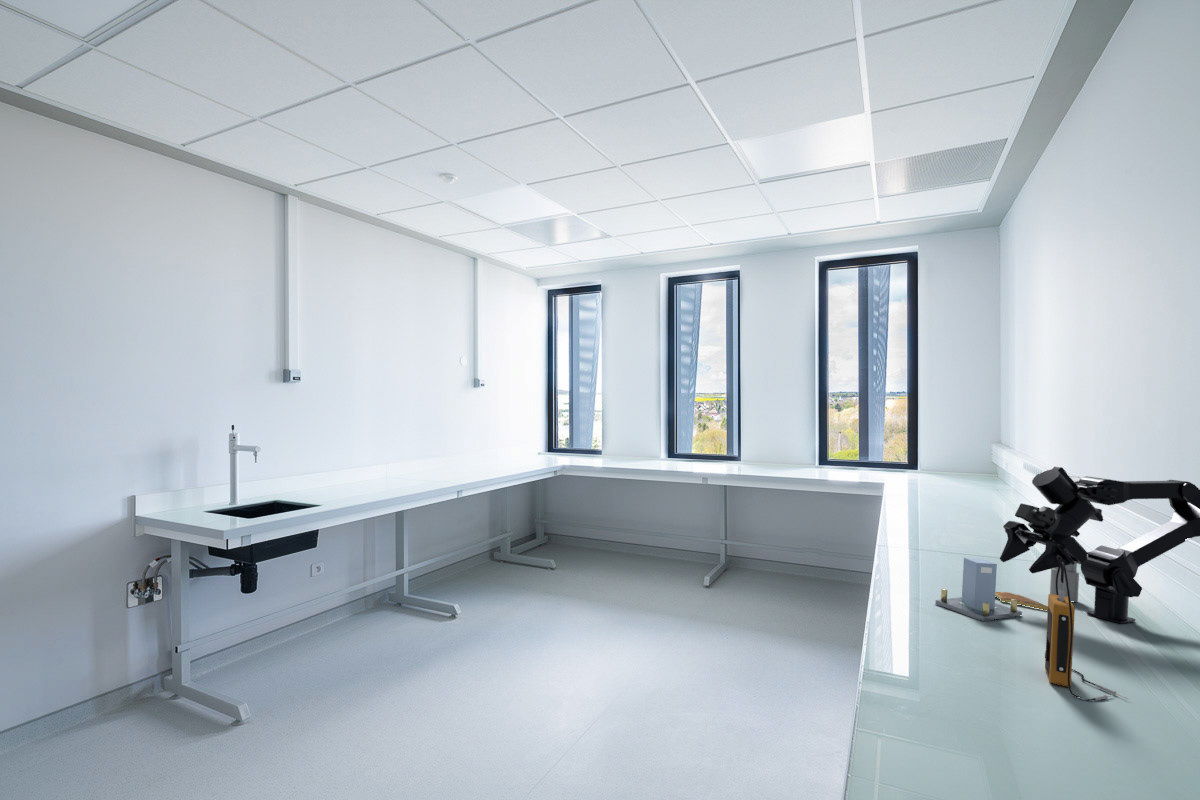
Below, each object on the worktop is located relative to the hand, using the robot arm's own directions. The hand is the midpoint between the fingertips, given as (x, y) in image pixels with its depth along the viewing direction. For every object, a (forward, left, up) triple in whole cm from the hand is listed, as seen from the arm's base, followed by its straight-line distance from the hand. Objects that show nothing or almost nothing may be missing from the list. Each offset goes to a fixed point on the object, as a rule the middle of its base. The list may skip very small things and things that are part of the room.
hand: (1015, 565), depth 132 cm
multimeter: (+28, +28, -11) cm, 41 cm away
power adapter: (-25, -3, -11) cm, 28 cm away
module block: (+7, -3, -9) cm, 12 cm away
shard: (-10, -4, -11) cm, 16 cm away
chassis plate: (+7, -3, -10) cm, 13 cm away
